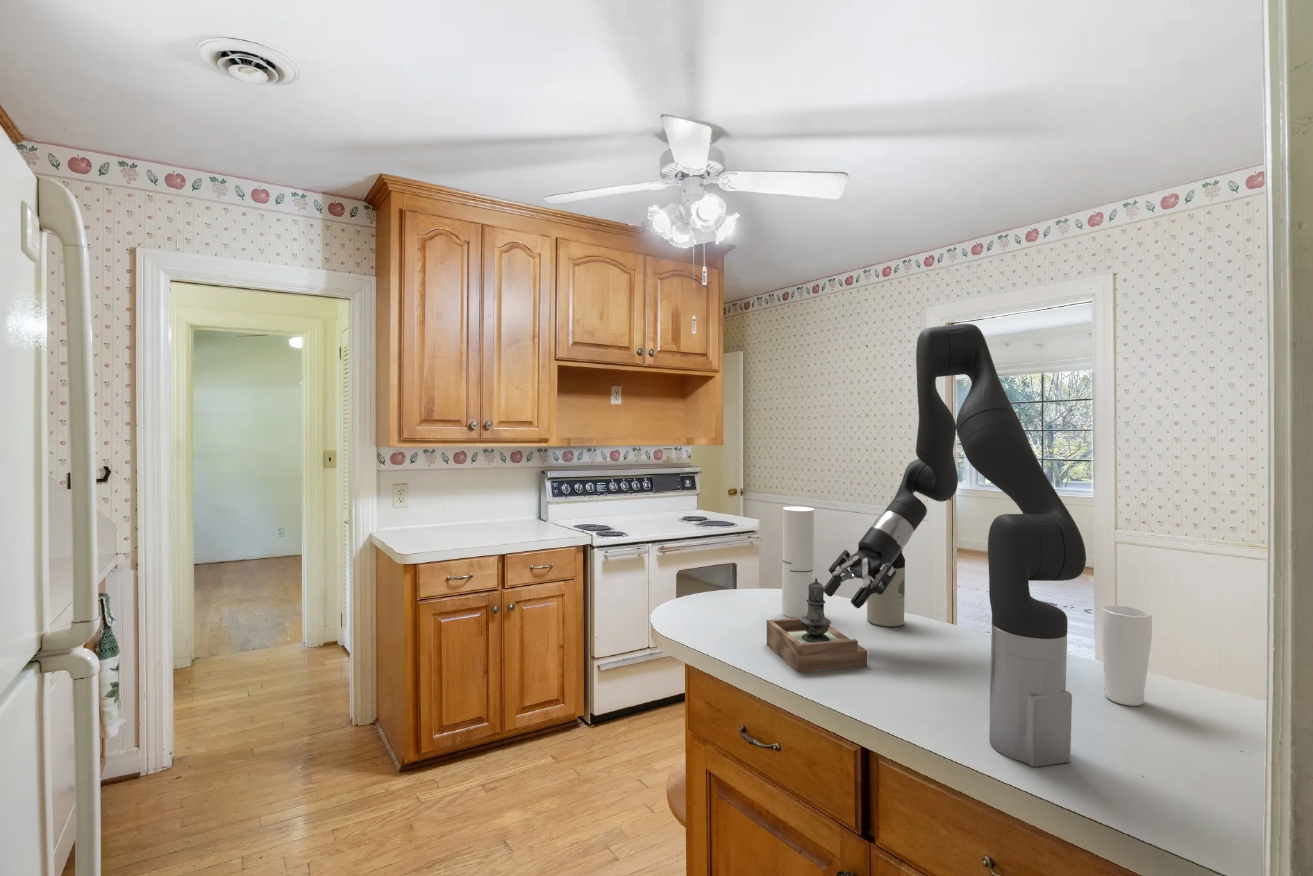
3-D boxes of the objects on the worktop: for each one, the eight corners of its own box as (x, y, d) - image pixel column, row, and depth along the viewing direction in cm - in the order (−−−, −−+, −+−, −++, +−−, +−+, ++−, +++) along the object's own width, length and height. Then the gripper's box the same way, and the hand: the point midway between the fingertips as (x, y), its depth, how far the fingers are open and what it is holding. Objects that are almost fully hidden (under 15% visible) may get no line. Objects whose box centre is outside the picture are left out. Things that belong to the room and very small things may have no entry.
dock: (867, 666, 122) (867, 640, 122) (797, 672, 119) (798, 645, 119) (829, 639, 137) (829, 615, 136) (766, 644, 134) (766, 620, 133)
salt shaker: (831, 644, 124) (832, 582, 124) (800, 642, 125) (800, 580, 125) (830, 634, 130) (830, 575, 130) (800, 632, 131) (800, 573, 131)
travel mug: (859, 620, 149) (860, 542, 148) (880, 614, 154) (881, 538, 153) (890, 630, 143) (891, 548, 142) (911, 623, 147) (912, 544, 147)
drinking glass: (1146, 697, 109) (1149, 608, 108) (1152, 713, 103) (1155, 619, 103) (1097, 688, 112) (1100, 602, 112) (1100, 703, 107) (1103, 612, 106)
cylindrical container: (794, 607, 159) (795, 505, 158) (819, 614, 154) (820, 509, 153) (775, 612, 155) (776, 508, 154) (799, 620, 149) (801, 511, 148)
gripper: (852, 521, 139) (807, 579, 135) (901, 532, 126) (853, 597, 122) (872, 543, 141) (828, 601, 137) (922, 557, 128) (875, 621, 124)
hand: (840, 599), depth 130 cm, fingers open, 8 cm apart
